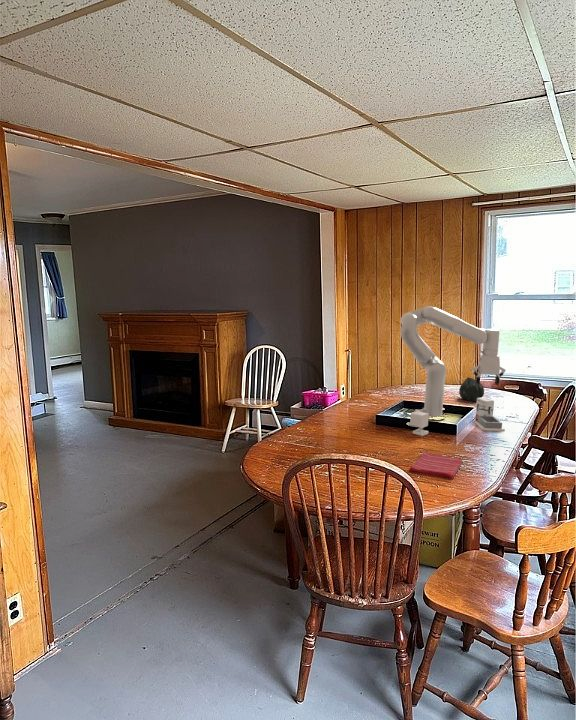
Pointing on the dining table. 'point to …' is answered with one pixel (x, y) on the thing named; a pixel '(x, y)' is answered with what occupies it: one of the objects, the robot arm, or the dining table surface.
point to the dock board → (489, 423)
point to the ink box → (484, 407)
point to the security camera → (419, 422)
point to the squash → (471, 390)
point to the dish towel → (436, 465)
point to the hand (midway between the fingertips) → (487, 384)
